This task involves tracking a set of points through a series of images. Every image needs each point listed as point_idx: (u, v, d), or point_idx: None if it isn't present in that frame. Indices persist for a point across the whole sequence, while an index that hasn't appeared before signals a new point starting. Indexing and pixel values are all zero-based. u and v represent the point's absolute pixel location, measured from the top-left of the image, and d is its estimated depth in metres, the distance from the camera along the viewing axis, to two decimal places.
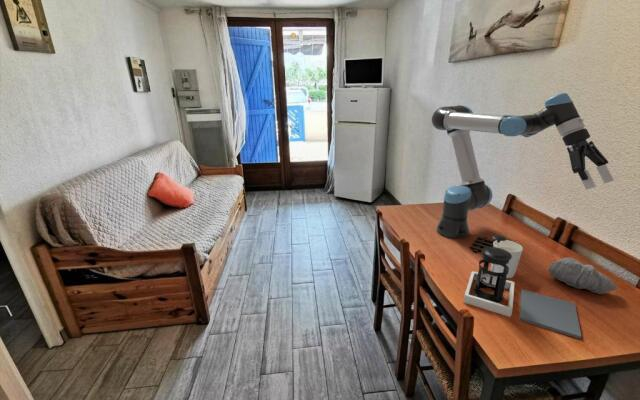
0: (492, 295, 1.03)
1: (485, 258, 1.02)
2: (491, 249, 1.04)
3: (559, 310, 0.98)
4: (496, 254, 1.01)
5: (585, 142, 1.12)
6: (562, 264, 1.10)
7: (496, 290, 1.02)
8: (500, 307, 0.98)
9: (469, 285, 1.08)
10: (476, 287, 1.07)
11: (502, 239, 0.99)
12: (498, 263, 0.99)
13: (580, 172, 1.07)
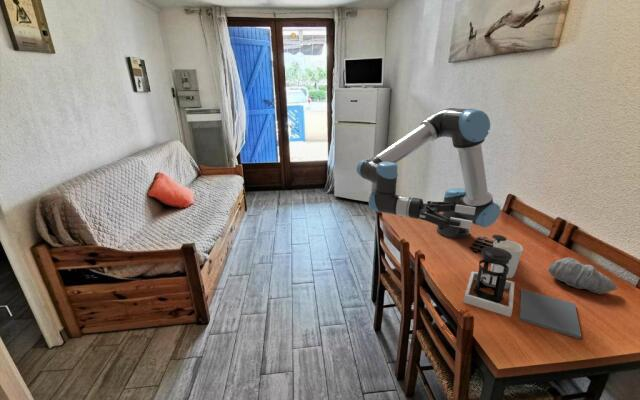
0: (492, 295, 1.03)
1: (485, 258, 1.02)
2: (491, 249, 1.04)
3: (559, 310, 0.98)
4: (496, 254, 1.01)
5: None
6: (562, 264, 1.10)
7: (496, 290, 1.02)
8: (500, 307, 0.98)
9: (469, 285, 1.08)
10: (476, 287, 1.07)
11: (502, 239, 0.99)
12: (498, 263, 0.99)
13: None
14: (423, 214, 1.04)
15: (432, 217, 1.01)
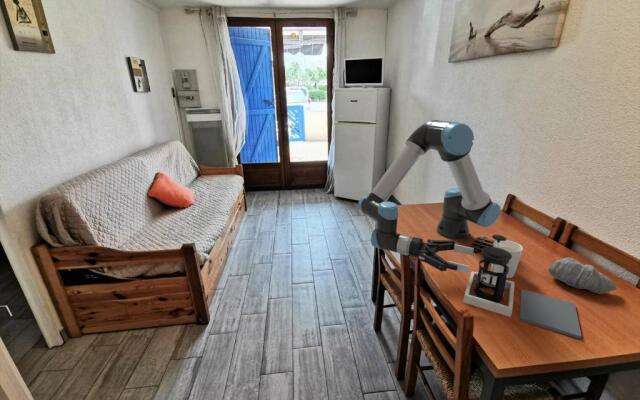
0: (492, 295, 1.03)
1: (485, 258, 1.02)
2: (491, 249, 1.04)
3: (559, 310, 0.98)
4: (496, 254, 1.01)
5: None
6: (562, 264, 1.10)
7: (496, 290, 1.02)
8: (500, 307, 0.98)
9: (469, 285, 1.08)
10: (476, 287, 1.07)
11: (502, 239, 0.99)
12: (498, 263, 0.99)
13: None
14: (422, 256, 1.08)
15: (430, 260, 1.05)
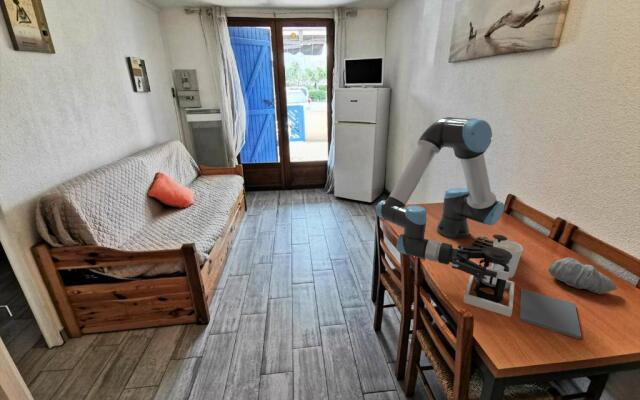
0: (492, 295, 1.03)
1: (486, 258, 1.02)
2: (491, 249, 1.04)
3: (559, 310, 0.98)
4: (497, 254, 1.01)
5: None
6: (562, 264, 1.10)
7: (496, 290, 1.02)
8: (500, 307, 0.98)
9: (469, 285, 1.08)
10: (476, 287, 1.07)
11: (503, 239, 0.99)
12: (499, 263, 0.99)
13: None
14: (456, 263, 1.03)
15: (467, 267, 1.01)
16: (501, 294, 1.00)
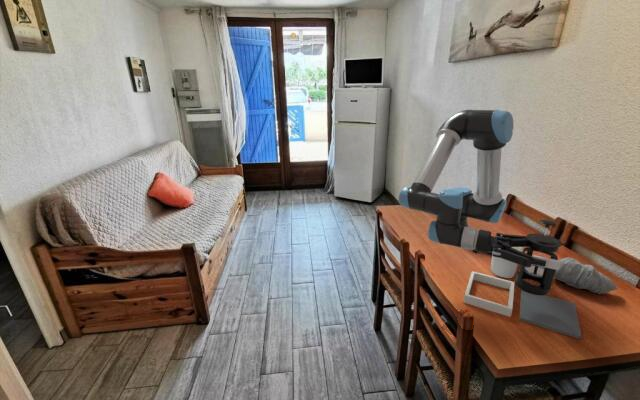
0: (538, 286, 0.93)
1: (531, 245, 0.92)
2: (537, 236, 0.94)
3: (559, 310, 0.98)
4: (544, 241, 0.91)
5: None
6: (562, 264, 1.10)
7: (543, 281, 0.92)
8: (500, 307, 0.98)
9: (469, 285, 1.08)
10: (518, 278, 0.97)
11: (552, 224, 0.89)
12: (547, 250, 0.89)
13: None
14: (498, 251, 0.93)
15: (511, 255, 0.91)
16: (549, 285, 0.90)
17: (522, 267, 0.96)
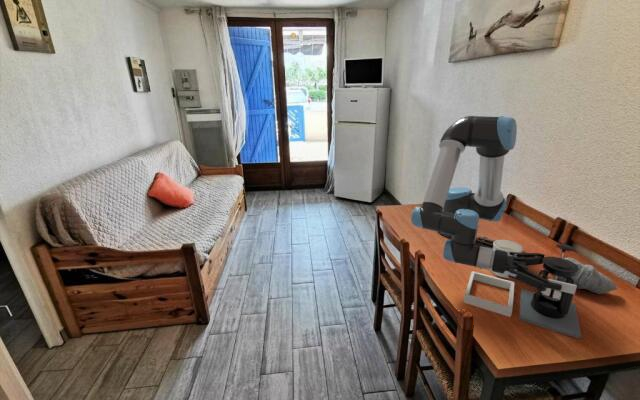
0: (555, 310, 0.94)
1: (548, 269, 0.93)
2: (553, 259, 0.95)
3: None
4: (561, 265, 0.92)
5: None
6: None
7: (560, 304, 0.93)
8: (500, 307, 0.98)
9: (469, 285, 1.08)
10: (535, 301, 0.98)
11: (569, 249, 0.90)
12: (564, 275, 0.90)
13: None
14: (514, 272, 0.94)
15: (526, 277, 0.91)
16: (567, 309, 0.91)
17: (539, 290, 0.96)
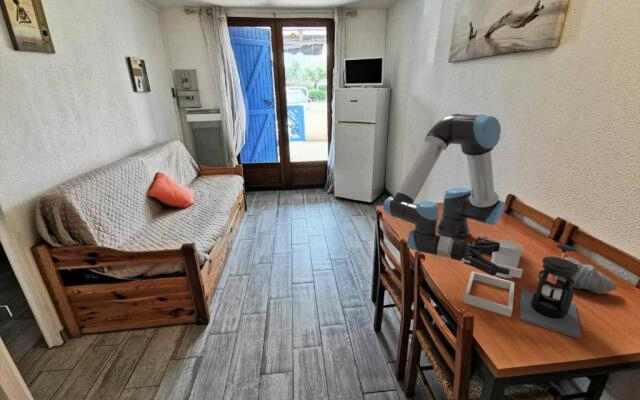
0: (555, 310, 0.94)
1: (548, 270, 0.93)
2: (553, 259, 0.95)
3: None
4: (561, 265, 0.92)
5: None
6: None
7: (560, 305, 0.93)
8: (500, 307, 0.98)
9: (469, 285, 1.08)
10: (535, 301, 0.98)
11: (569, 249, 0.90)
12: (564, 275, 0.90)
13: None
14: (468, 259, 1.00)
15: (478, 263, 0.98)
16: (567, 310, 0.91)
17: (539, 291, 0.96)
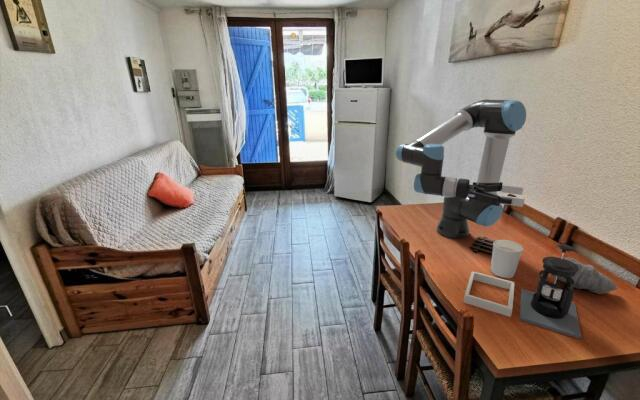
0: (555, 310, 0.94)
1: (548, 270, 0.93)
2: (553, 259, 0.95)
3: None
4: (561, 265, 0.92)
5: None
6: None
7: (560, 305, 0.93)
8: (500, 307, 0.98)
9: (469, 285, 1.08)
10: (535, 301, 0.98)
11: (569, 249, 0.90)
12: (564, 275, 0.90)
13: None
14: (472, 193, 1.05)
15: (482, 196, 1.03)
16: (567, 310, 0.91)
17: (539, 291, 0.96)
